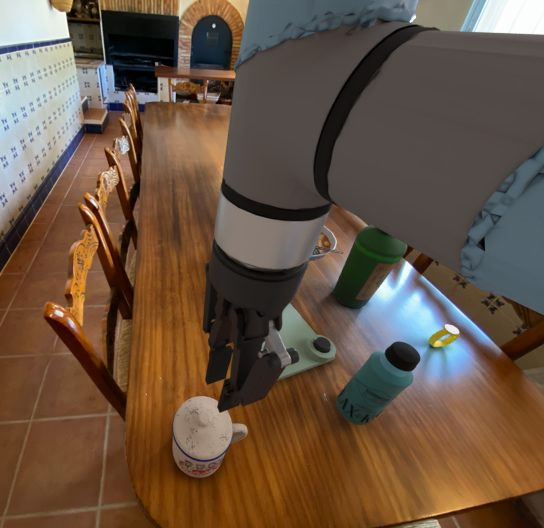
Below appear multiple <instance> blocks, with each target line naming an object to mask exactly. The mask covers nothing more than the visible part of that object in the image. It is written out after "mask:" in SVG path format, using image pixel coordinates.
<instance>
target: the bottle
mask: <svg viewBox="0 0 544 528" xmlns="http://www.w3.org/2000/svg"><path fill="white" fill-rule="evenodd" d="M407 250H408V245H407V244H405V243H403V242H402V241H400V240H398V239H396V238H395V237H393V236H391V235H389V234H387V233H386V232H384V231H382V230H380V229H379V228H377V227H375V226H373V225H372V224H370V225H367V226H364V227H363V228H361V229H360V230H358V233H357V234H356V237H355V239H354V240H353V244H352V246H351V249H350V251H349V253H348V255H347V257H346V260H345V262H344V264H343V267H342V270H341V272H340V274H339V276H338V278H337V280H336V283H335V286H334V288H333V290H332V292H333V295H334V298H335V299H336V300H337V301H338V302H340V304H342V305H345V306H347V307H349V308H353V309H360V308H364V307H365V306H366V305H367V304H368V303H369V301H370V300H371V299H372V298H373V296H374V295H375V294H376V292H377V291H378V289H379V288H380V287H381V286H382V284H383V283H384V282H385V280H386V279H387V278H388V276H390V274H391V273H392V272H393V270H394V269H395V268H396V266H397V265H398V264H399V262H401V259H402V258H403V256H405V254H406V253H407Z"/></svg>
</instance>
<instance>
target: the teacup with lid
mask: <svg viewBox="0 0 544 528" xmlns="http://www.w3.org/2000/svg"><path fill="white" fill-rule="evenodd" d="M218 402H219V400H216V399H215V398H212V397H209V396H206V395H198V396H193V397H190V398H187V400H185V401H183V403H182V404H180V406H179V407H178V408H177V410H176V411H175V413H174V416H173V419H172V424H171V431H172V457H173V459H174V462H175V463H176V466H177V467H178V468H179V469H180V471H182V472H183V473H184V474H185V475H187V476H189V477H192V478H196V479H200V478H201V479H202V478H207V477H209V476H211V475H213V474H214V473H215V472H216V471H217V470H218V469H219V467H220V466H221V464H222V462H223V461H224V460H223V459H224V457H225V455H226V452H227V451H228V450H229V448H230V446H231V444H233V443H237V442H239V441H241V440H243V439H245V438H246V437H247V436H248V433H249V430H248V427H247V425H246V424H243V423H233V420H232V418H231V415H230V413H229V411H228V410H226V411H224V412H221V413H219V411H218V408H217V405H218Z"/></svg>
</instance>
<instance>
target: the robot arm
mask: <svg viewBox="0 0 544 528" xmlns="http://www.w3.org/2000/svg"><path fill="white" fill-rule="evenodd" d="M418 4H419V0H248V5H247V9H246V15H245V21H244V24H243V25H244V26H243V30H242V35H241V40H240V46H239V51H238V55H237V58H236V59H237V60H236V61H235V62H234V66H233V72H234V74H235V75H234V83H233V92H232V100H231V105H230V106H231V107H230V114H229V115H230V116H229V122H228V130H227V137H226V145H225V153H224V161H223V168H222V177H221V183H220V187H219V193H218V200H217V201H218V202H217V208H216V214H215V215H216V216H215V222H214V230H213V237H214V238H213V240H212V246H211V253H210V260H209V261H208V262H205V263H204V270H205V271H204V272H205V289H204V291H205V293H204V302H203V303H204V304H203V305H204V306H203V313H202V315H203V316H202V331H203V333H204V334H208V335H209V336H208V338H207V345H208V347H209V352H208V362H207V366H206V371H205V372H206V373H205V377H204V381H205V383H206V385H207V386H209V385H211V384H214V383H215V384H216V383H217V382H221V381H223V383H222V387H221V391H220V395H219V398H218V405H217V408H218V411H219V413H221V412H224V411H226V410H227V411H229V410H231V409H234V408H236V407H240V405H241V406H242V407H246V406H249V405H252V404H254V403H257V402H259V401H261V400H264V399H266V397H267V396H268V394H269V393H270V392H271V391H272V389H273V387H274V386H275V384H276V383H277V382H278V381H277V380H278V378H279V377H280V375H281V374H282V372H283V371H284V369H285V368H286V366H289V365H292V364H295V363H297V362H299V355H298V353H297V351H296V350H295V349H294V348H288V349H286V347H285V345H284V343H283V341H282V338H281V336H280V334H279V331H280V330H281V328H282V324H283V322H282V314H283V310H284V309H285V308H286V307H287V305H288V304H289V303H290V304H291V302H292V301H293V299H294V298H295V297H296V296H297V293H298V290H299V288H300V286H301V284H302V281H303V279H304V276H305V274H306V271H307V268H308V267H309V261H308V259H309V258H310V257H311V256H312V253H313V251H314V248H315V246H316V244H317V241H318V239H319V236H320V234H321V231H322V229H323V226H325V225H326V221H327V220H328V216H329V214H330V212H331V210H332V208H333V206H336V207H338V208H341V209H343V210H345V211H347V212H349V213H350V214H352V215H354V216H356V217H358V218H359V219H361V220H362V221H365V222H366V223H368V224H369V225H373V226H375V227H377V228H379V229H380V230H382V231H384V232H386V233H387V234H389V235H391V236H393V237H395V238H396V239H398V240H400V241H402V242H403V243H405V244H407V246H408V247H411V248H412V249H414V250H416V251H417V252H419V253H421V254H423V255H425V256H427V257H428V258H430V259H431V260H434V261H435V262H436V263H439V264H441V265H442V266H444V267H446V268H447V269H450V270H451V271H453V272H455V273H457V274H458V275H461V276H462V277H463V278H465V281H466V282H468V283H470V284H471V285H472V286H473V287H475V288H477V289H479V290H480V291H481V292H488V293H490V294H491V295H494V296H502V297H504V298H507V299H508V300H510V301H513V302H515V303H517V304H519V305H521V306H523V307H526V308H528V309H530V310H531V311H534V312H536V313H538V314H540V315H543V316H544V34H539V33H538V34H537V33H517V32H515V33H513V32H511V33H510V32H490V31H489V32H488V31H487V32H486V31H464V30H463V31H462V30H460V31H459V30H441V29H440V28H439V27H436V26H432V27H431V26H424V25H422V24H419V23H417V24H416V23H413V22H414V21H415V19H416V18H417V15H416V10H417V7H418ZM263 342H265V346H264V347H263V351H261V349H262V344H263ZM229 344H230V345H229ZM231 344H233V347H232V345H231ZM230 364H231V365H230ZM229 368H230V374H229V377H228V378H227V376H228V372H229Z"/></svg>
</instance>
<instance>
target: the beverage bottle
mask: <svg viewBox="0 0 544 528" xmlns="http://www.w3.org/2000/svg"><path fill="white" fill-rule="evenodd" d="M420 362H421V354H420V353H419V351H418V350H417V349H416V348H415V347H414V346H412V345H411V344H410V343H408V342H405V341H394V342H393V343H391V344H390V345H389V346H388V347H387V348H386V349H385V350H376V351H373V352H372V353H371V354H370V355H369V357H368V359H367V360H366V361H365V362H364V363H363V364H362V366H361V367H360V368H359V369H358V371H357V372H355V373H353V375H352V377H351V378H350V379H349V380H348V381H347V382H346V384H345V385H344V386H343V387H342V389H341V390H340V391H339V393H338V394H337V395H336V399H335V400H336V401H335V403H336V408H337V410H338V412H339V413H340V415H341V416H342V417H343V418H344V419H345V420H346V421H348V422H349V423H351V424H354V425H356V426H366V425H368V424H370V423H371V422H373V421H374V419H375V418H378V416H379V415H380V414H381V413H382V412H383V411H384V410H385V409H387V408H388V406H389V405H390V404H392V403H393V402H394V400H397V399H398V396H399V395H400V394H402V392H404V391H405V390H406V389H407V388H408V387H409V386H411V385H412V384H413V382H414V374H413V371H414V370H415V369H416V368H417V366H418V365H419V364H420Z"/></svg>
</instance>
